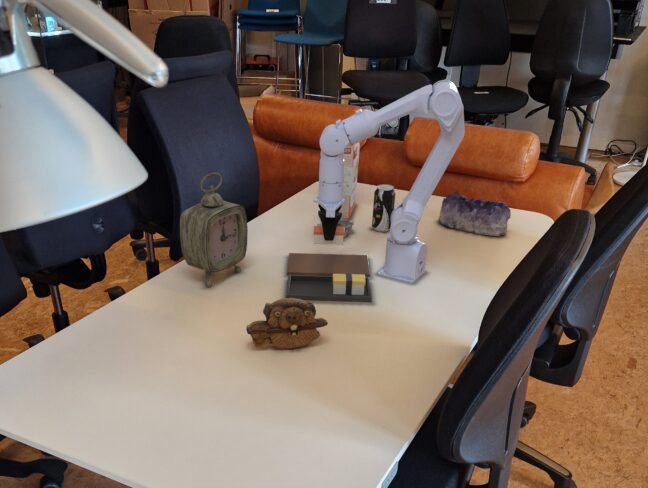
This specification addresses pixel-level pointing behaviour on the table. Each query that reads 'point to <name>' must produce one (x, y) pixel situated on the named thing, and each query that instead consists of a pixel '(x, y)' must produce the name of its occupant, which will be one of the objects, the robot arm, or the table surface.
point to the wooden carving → (286, 324)
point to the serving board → (327, 264)
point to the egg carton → (344, 225)
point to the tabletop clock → (213, 233)
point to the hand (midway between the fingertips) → (328, 236)
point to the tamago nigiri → (348, 284)
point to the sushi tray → (321, 289)
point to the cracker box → (350, 179)
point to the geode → (474, 215)
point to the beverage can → (383, 207)
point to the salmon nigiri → (320, 237)
